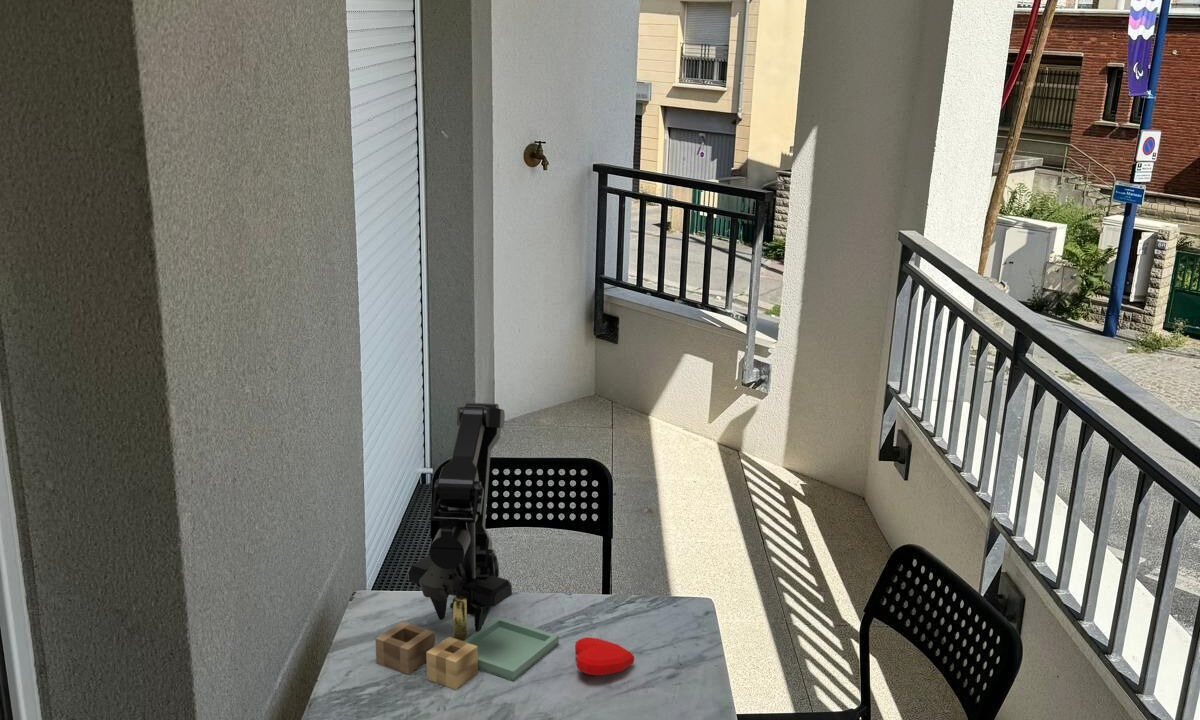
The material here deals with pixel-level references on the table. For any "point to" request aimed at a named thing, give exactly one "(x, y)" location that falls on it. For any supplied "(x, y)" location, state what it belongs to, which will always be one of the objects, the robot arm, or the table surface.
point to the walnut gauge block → (404, 647)
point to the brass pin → (460, 618)
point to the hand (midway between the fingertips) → (459, 625)
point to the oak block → (452, 662)
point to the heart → (601, 656)
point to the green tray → (510, 647)
